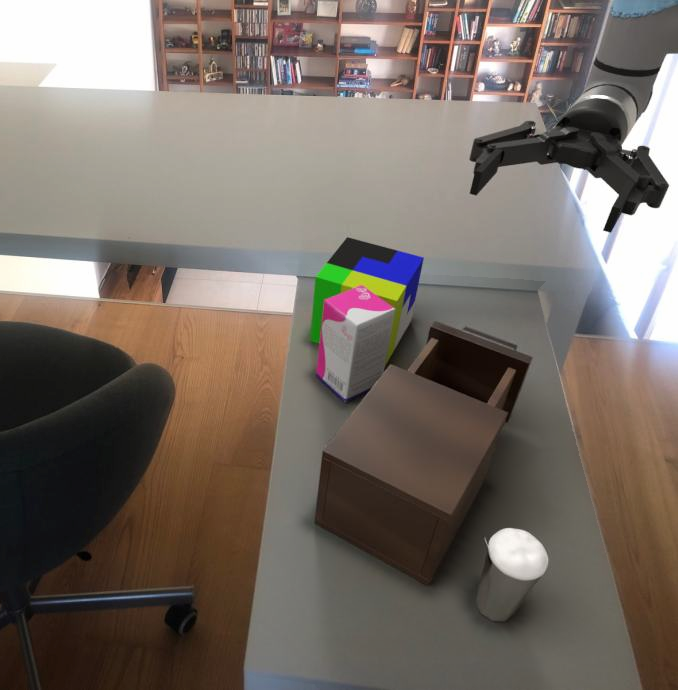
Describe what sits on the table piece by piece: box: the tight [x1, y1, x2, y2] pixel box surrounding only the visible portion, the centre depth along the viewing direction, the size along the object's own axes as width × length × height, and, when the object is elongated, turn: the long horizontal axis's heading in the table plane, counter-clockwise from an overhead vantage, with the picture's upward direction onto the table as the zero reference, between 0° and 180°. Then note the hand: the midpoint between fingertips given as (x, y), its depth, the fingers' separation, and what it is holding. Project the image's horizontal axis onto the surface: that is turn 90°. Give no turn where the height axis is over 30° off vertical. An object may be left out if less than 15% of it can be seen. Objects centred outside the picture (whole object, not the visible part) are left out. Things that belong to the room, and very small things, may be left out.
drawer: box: [406, 320, 534, 424], centre depth 74 cm, size 17×11×9 cm, turn 144°
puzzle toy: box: [309, 236, 425, 366], centre depth 87 cm, size 10×10×10 cm
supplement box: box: [315, 285, 395, 403], centre depth 79 cm, size 6×6×12 cm
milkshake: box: [475, 527, 549, 622], centre depth 58 cm, size 5×5×10 cm
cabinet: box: [313, 363, 508, 586], centre depth 66 cm, size 14×12×11 cm
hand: (540, 200), depth 71 cm, fingers open, 13 cm apart
